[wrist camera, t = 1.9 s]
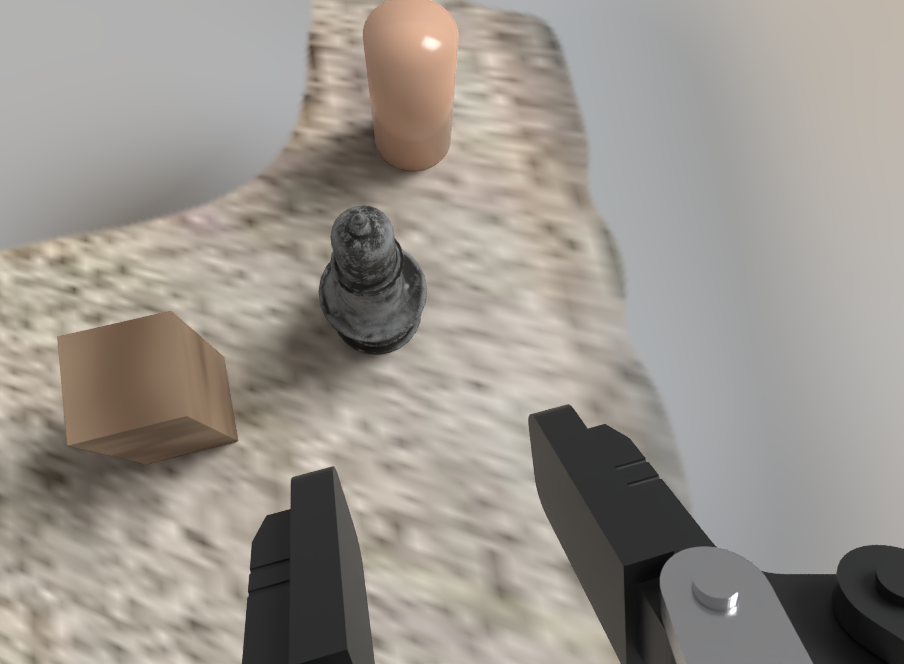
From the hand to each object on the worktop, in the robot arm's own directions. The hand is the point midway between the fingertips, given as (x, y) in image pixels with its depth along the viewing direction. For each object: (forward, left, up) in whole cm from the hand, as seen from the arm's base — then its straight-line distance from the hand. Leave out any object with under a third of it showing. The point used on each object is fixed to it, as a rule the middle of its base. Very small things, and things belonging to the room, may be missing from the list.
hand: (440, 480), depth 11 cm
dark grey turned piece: (-2, +12, -24) cm, 27 cm away
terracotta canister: (+1, +24, -24) cm, 34 cm away
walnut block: (-13, +7, -24) cm, 28 cm away
